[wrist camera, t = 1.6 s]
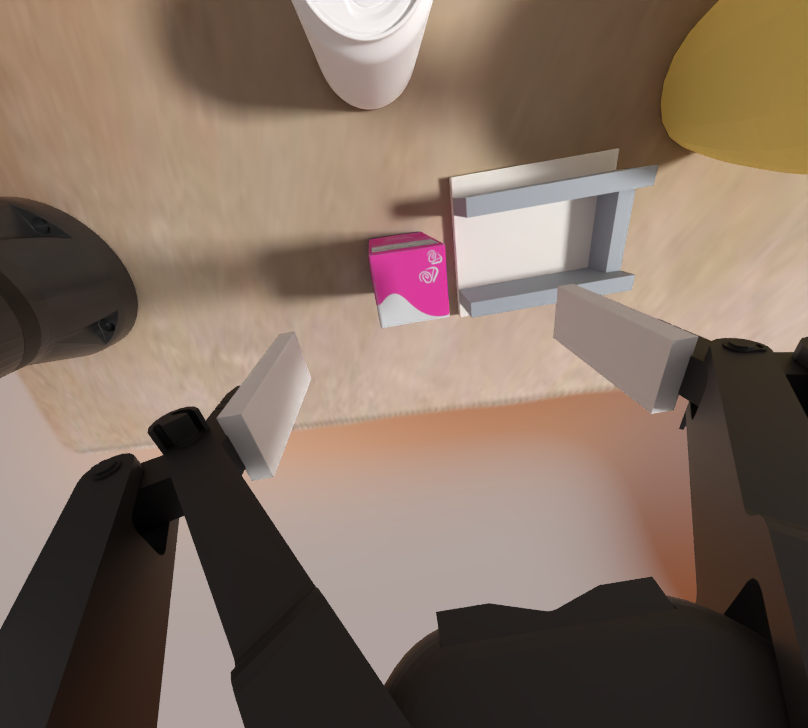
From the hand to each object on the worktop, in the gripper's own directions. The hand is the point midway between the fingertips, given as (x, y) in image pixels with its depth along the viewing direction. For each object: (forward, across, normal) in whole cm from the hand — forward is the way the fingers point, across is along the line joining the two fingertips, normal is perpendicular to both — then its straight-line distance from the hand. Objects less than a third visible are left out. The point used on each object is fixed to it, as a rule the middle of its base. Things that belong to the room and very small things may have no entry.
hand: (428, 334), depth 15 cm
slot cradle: (+20, +14, 0) cm, 24 cm away
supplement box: (+20, 0, 0) cm, 20 cm away
